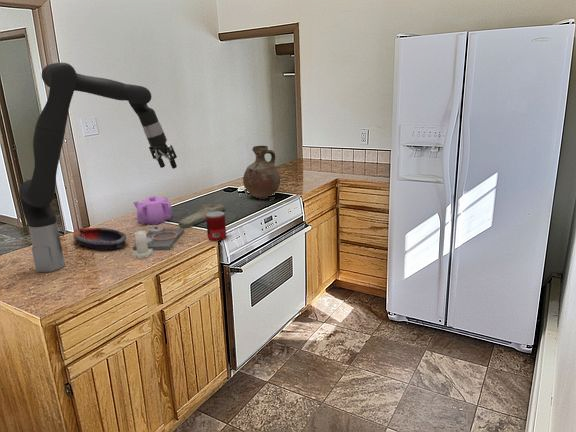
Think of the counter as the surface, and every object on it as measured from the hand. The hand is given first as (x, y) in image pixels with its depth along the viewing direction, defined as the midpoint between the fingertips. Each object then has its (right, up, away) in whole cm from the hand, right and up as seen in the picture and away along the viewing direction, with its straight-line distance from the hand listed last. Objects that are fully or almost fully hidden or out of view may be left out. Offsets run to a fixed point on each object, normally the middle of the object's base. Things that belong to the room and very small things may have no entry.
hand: (168, 167), depth 194 cm
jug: (+38, -11, +64) cm, 75 cm away
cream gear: (-4, -37, -21) cm, 43 cm away
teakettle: (-14, -24, +25) cm, 37 cm away
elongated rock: (+10, -23, +26) cm, 36 cm away
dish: (-28, -34, -6) cm, 44 cm away
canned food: (+22, -31, -4) cm, 39 cm away
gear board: (-2, -32, -5) cm, 33 cm away
